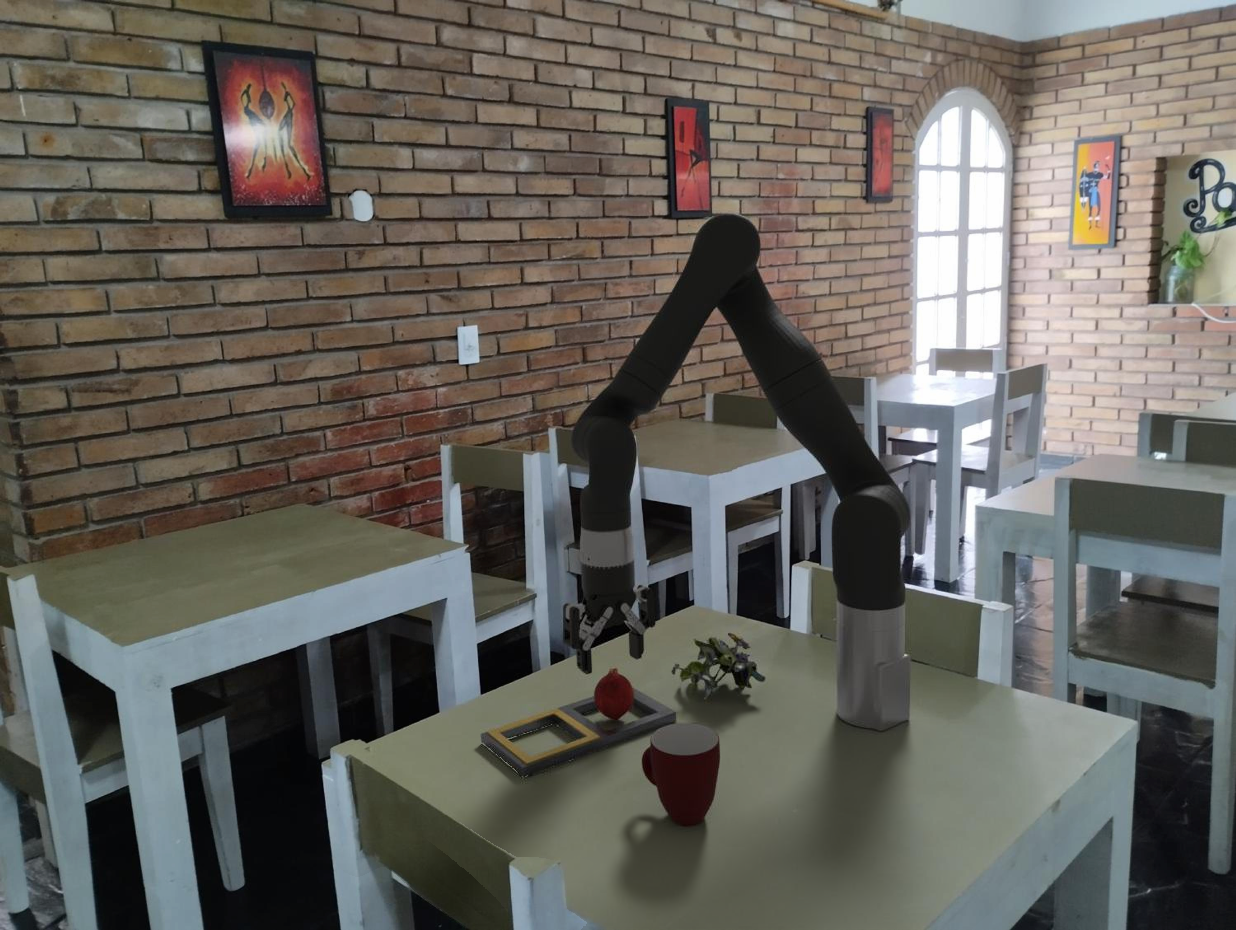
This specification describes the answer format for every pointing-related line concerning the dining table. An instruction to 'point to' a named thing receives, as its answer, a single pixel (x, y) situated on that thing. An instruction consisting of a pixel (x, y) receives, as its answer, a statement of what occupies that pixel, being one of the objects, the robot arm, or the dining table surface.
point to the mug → (684, 769)
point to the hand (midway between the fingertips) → (611, 664)
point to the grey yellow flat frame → (573, 733)
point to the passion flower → (727, 660)
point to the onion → (614, 695)
